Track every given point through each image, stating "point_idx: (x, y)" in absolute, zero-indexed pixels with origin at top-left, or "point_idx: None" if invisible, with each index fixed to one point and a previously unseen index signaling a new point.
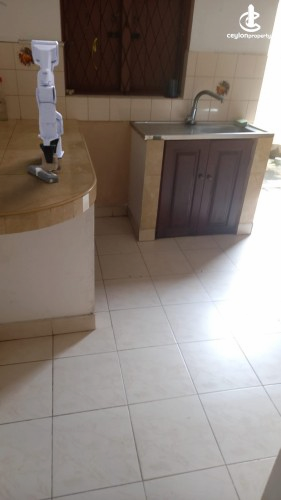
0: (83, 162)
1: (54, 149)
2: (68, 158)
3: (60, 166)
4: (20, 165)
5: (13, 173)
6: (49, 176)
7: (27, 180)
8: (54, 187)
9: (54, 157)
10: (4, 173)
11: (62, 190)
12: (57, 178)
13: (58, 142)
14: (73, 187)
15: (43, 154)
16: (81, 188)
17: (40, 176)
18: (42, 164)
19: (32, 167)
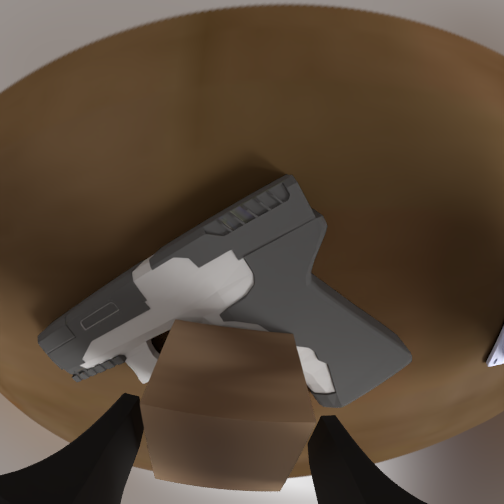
0: (391, 451)
1: (323, 500)
2: (468, 390)
3: (321, 404)
4: (434, 120)
5: (233, 61)
6: (58, 347)
7: (68, 193)
8: (16, 339)
9: (154, 471)
10: (238, 6)
11: (5, 360)
12: (76, 377)
13: None
14: (42, 402)
15: (242, 425)
16: (45, 419)
17: (104, 287)
18: (164, 348)
19: (254, 226)
